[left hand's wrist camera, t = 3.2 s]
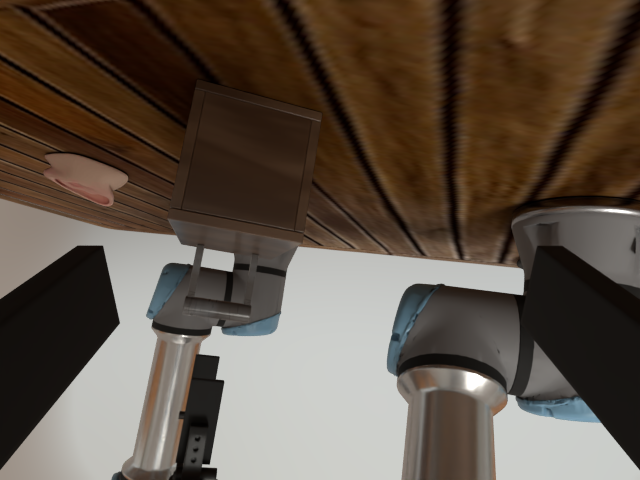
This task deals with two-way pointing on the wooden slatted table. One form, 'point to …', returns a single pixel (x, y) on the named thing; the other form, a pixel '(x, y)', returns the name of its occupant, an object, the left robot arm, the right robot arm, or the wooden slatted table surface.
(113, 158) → the wooden slatted table surface
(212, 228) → the lid
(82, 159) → the anatomical model
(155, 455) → the right robot arm
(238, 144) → the chest
